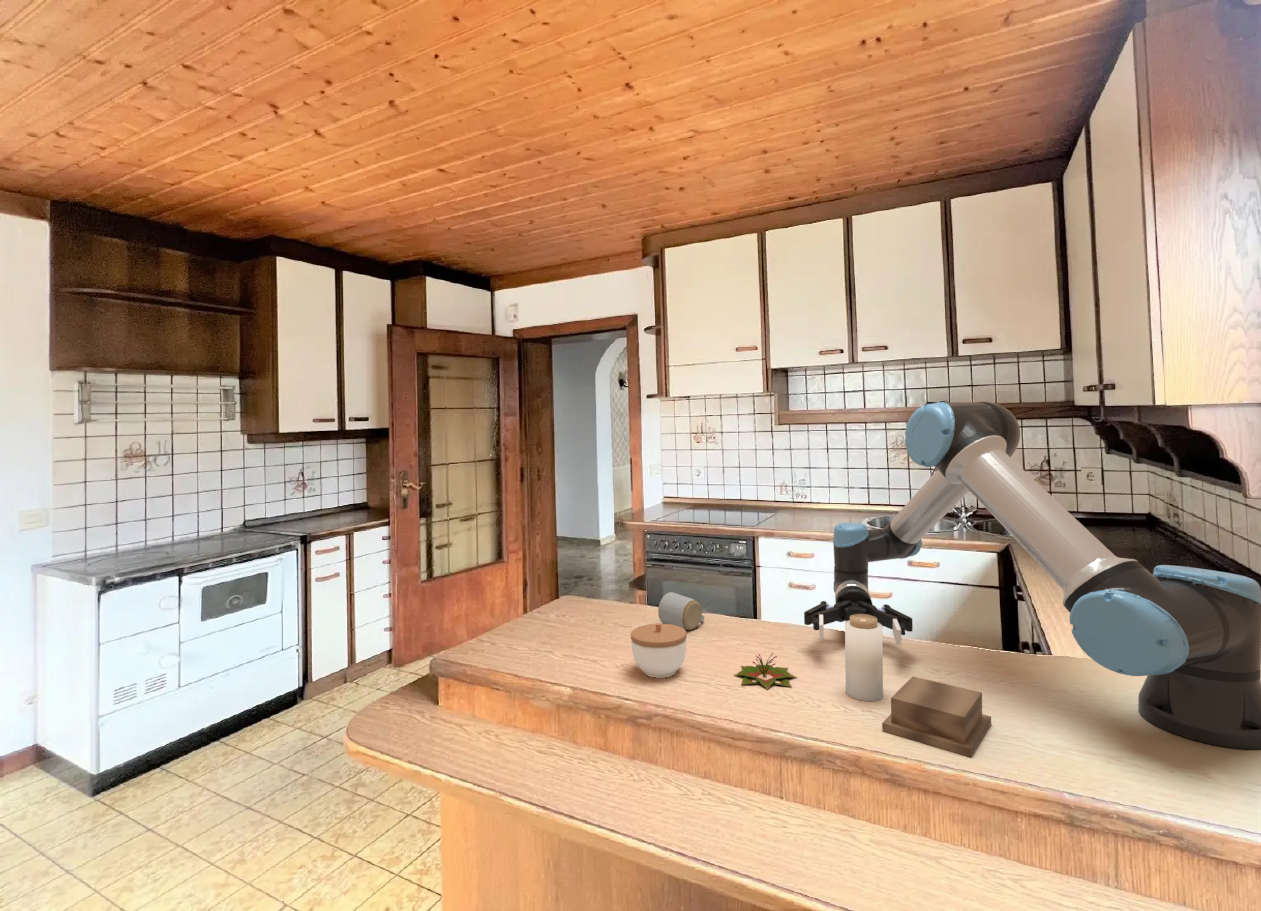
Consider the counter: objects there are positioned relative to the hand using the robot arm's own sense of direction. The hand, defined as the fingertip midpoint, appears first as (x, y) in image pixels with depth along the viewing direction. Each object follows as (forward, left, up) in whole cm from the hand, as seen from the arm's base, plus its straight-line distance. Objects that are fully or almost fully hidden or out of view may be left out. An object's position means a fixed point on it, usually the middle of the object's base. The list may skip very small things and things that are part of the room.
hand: (859, 634), depth 114 cm
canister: (-4, +9, -7) cm, 12 cm away
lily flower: (+13, +13, -8) cm, 20 cm away
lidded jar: (+30, +23, -7) cm, 38 cm away
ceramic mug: (+43, -2, -7) cm, 43 cm away
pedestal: (-17, +14, -7) cm, 23 cm away
